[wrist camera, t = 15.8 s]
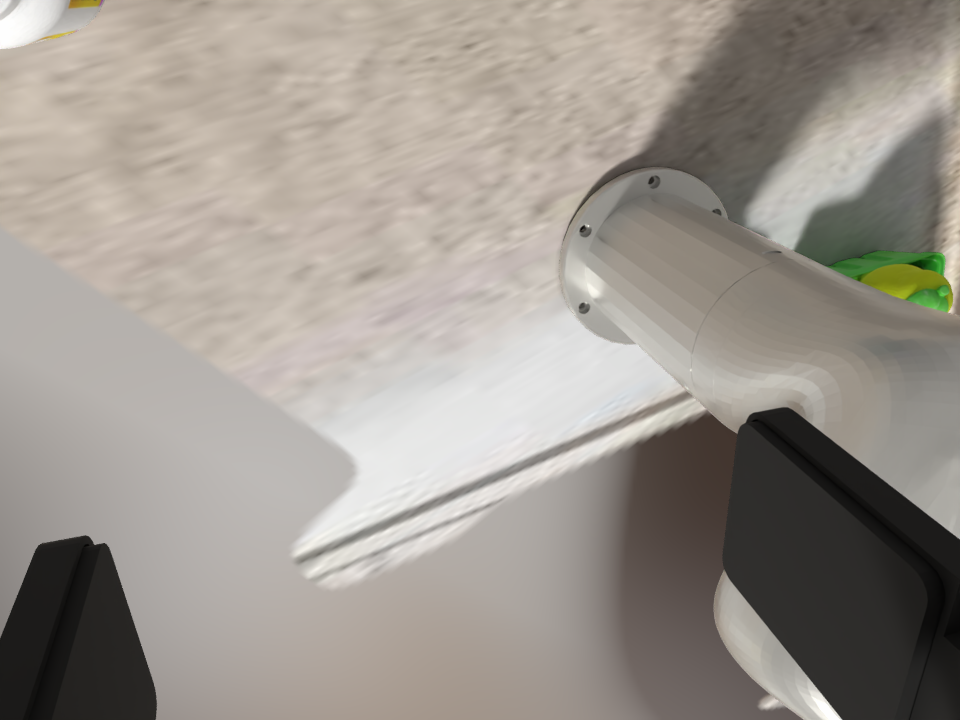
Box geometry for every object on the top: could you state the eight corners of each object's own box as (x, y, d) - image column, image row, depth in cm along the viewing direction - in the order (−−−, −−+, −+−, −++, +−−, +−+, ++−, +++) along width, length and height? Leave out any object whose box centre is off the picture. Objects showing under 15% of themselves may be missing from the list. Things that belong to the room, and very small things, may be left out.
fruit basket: (761, 356, 60) (859, 427, 51) (761, 251, 56) (868, 306, 46) (887, 319, 62) (1006, 380, 52) (896, 214, 58) (1027, 260, 48)
